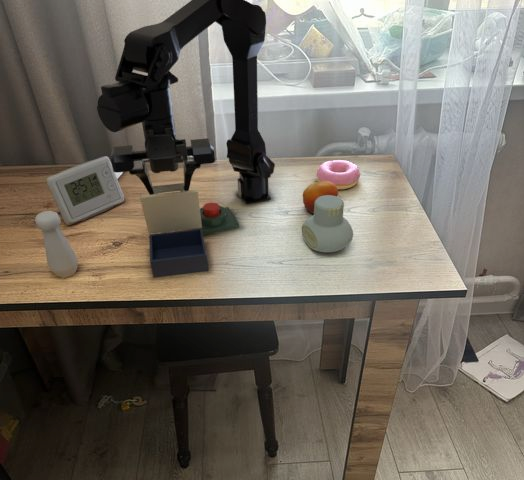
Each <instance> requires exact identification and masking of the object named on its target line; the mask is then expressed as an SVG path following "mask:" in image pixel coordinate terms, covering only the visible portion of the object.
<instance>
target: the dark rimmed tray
mask: <svg viewBox="0 0 524 480" xmlns="http://www.w3.org/2000/svg"><path fill="white" fill-rule="evenodd" d="M148 237H149V239H148V240H149V263H150V267H151V272H152V276H153V277H152V278H154V279H157V278H164V277H173V276H180V275H190V274H196V273H197V274H198V273H206V272H209V270H210V269H209V262H208V254H207V249H206V244H205V237H204V235H203V231H202V229H193V230H192V229H188V230H180V231H171V232H162V233H153V234H148Z"/></svg>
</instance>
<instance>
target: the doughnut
mask: <svg viewBox="0 0 524 480" xmlns="http://www.w3.org/2000/svg"><path fill="white" fill-rule="evenodd" d="M361 174H362V173H361V170H360V168H359V166H358V165H356V164H355V163H354V162H351V161H348V160H341V159H332V160H327V161H326V162H323V163H322V164H320V165H319V166H318V169H316V172H315V176H316V180H317V182H323V181H329V182H332V183H333V184H334V185H336V187H337V189H338V190H346V189H350V188H352V187H354V186H355V185H356V184H357V183H358V182H359V180H360V179H361V178H360V177H361Z"/></svg>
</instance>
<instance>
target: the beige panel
mask: <svg viewBox="0 0 524 480" xmlns="http://www.w3.org/2000/svg"><path fill="white" fill-rule="evenodd" d="M152 186H153V193H154V194H153V195H150V194H146V195H145V194H143V195H139V200H140V204H141V208H142V213H143V217H144V220H145V224H146V228H147V231H148V235H150V234H158V233H167V232H176V231H185V230H192V229H197V228H202V224H201V214H200V208H201V207H200V206H201V205H200V198H199V197H200V196H199V190H198V189H193V190H192V189H191V190H189V191H184V182H180V183H178V182H177V183H170V184H169V183H168V184H161V185H152Z"/></svg>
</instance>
